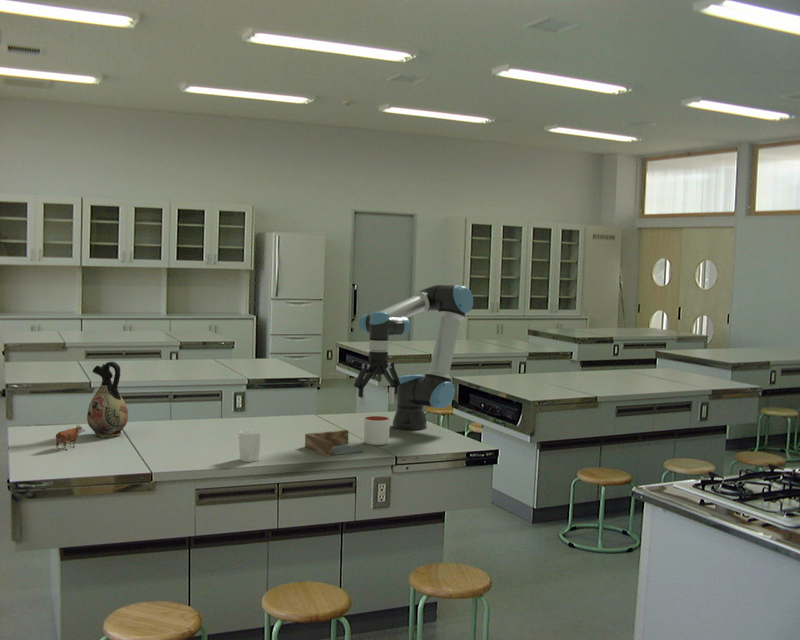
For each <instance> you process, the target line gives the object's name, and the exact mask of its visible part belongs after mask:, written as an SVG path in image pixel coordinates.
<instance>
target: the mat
mask: <svg viewBox="0 0 800 640" xmlns="http://www.w3.org/2000/svg"><path fill="white" fill-rule="evenodd" d="M358 453H363V450H361V449H358V448H356V447H354V446H351V445H348V444H340V445H332V456H341V455H347V454H348V455H349V454H358Z"/></svg>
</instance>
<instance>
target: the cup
mask: <svg viewBox="0 0 800 640" xmlns="http://www.w3.org/2000/svg"><path fill="white" fill-rule="evenodd" d="M390 421H391V420H390V418H389V417H388V416H383V415H382V416H379V415H372V416H366V417H364V420H363V426H364V427H363V441H364V443H365V444H366V445H370V446H384V445H387V444H388V443H389V441H390V423H391V422H390Z"/></svg>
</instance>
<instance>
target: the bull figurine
mask: <svg viewBox="0 0 800 640" xmlns="http://www.w3.org/2000/svg"><path fill="white" fill-rule="evenodd" d="M85 431H86V429H85V428H84V426H83V425H81V424H77V425H73V426H72V427H70V428H68V429H65V430H61V431H58V432H57V433H56V435H55V440H56V443H55V450H56V449H59V445H61V448H62V449H64V450H65V449H69V448H68V447H67V445H68V443H69V446H70V445H73V447H76V441H77V438H78V436H79V435H80V434H81V433H82V432H83V433H84V432H85ZM73 447H72V448H73Z"/></svg>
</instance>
